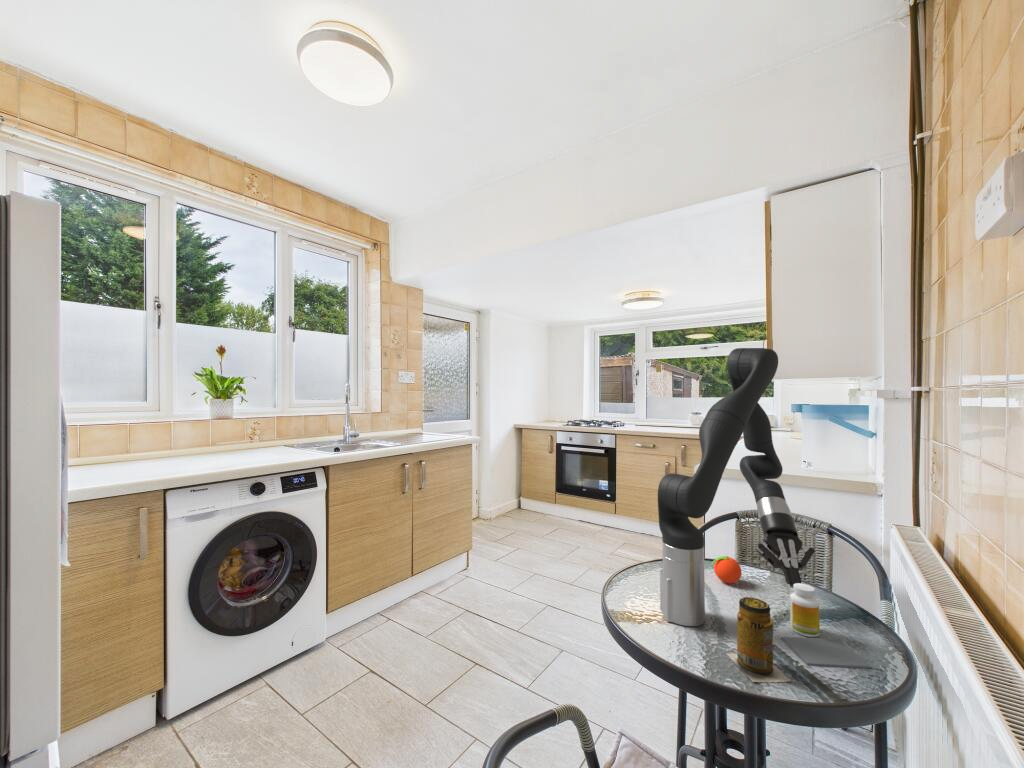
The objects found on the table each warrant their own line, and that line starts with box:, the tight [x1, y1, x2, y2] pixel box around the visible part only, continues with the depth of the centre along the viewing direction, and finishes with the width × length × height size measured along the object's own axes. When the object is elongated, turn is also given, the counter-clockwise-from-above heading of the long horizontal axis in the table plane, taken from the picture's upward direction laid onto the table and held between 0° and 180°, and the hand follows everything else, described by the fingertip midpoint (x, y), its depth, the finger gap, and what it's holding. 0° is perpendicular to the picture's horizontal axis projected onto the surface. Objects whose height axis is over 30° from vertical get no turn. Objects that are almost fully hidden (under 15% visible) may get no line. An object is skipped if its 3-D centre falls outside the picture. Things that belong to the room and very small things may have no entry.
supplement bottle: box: [789, 582, 821, 638], centre depth 93 cm, size 5×5×10 cm
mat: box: [780, 636, 873, 669], centre depth 85 cm, size 12×9×1 cm
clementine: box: [710, 556, 742, 584], centre depth 118 cm, size 8×7×7 cm
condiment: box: [726, 596, 791, 684], centre depth 81 cm, size 7×8×12 cm
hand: (795, 586), depth 98 cm, fingers closed
